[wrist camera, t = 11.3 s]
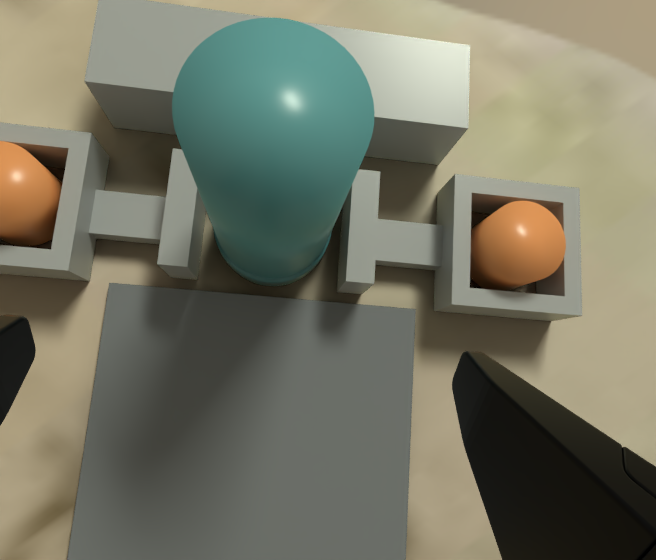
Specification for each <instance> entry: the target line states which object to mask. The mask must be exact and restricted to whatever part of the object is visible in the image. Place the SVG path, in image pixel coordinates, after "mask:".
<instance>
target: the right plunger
mask: <svg viewBox="0 0 656 560" xmlns="http://www.w3.org/2000/svg"><path fill="white" fill-rule="evenodd" d="M565 250H566V240H565V235H564V231H563V229H562V226H561V224H560V223H559V221H558V220H557V218H556V217H555V216H554V215H553V214H552V213H551V212H550V211H549V210H548V209H546V208H545V207H543V206H541V205H539V204H537V203H534V202H530V201H514V202H511V203H508V204H506V205H504V206H503V207H501V208H500V209H498V210H497V211H495V212H494V213H493V214H491V215H490V216H488V217H487V218H486V219H484V220H483V221H481V222H480V223H479V224H477V225H476V226H474V227H473V228H472V229H471V252H470V278H471V279H472V280H473V281H474V282H475V283H476V284H478V285H479V286H481V287H482V288H484V289H489V290H500V291H509V290H512V289H515V288H518V287H521V286H524V285H526V284H529V283H532V282H535V281H538V280H541V279H544V278H546V277H548V276H550V275H551V274H552V273H554V272H555V271H556V270H557V269H558V267H559V266H560V264H561V263H562V261H563V258H564V255H565Z"/></svg>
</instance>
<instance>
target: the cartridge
mask: <svg viewBox="0 0 656 560" xmlns="http://www.w3.org/2000/svg"><path fill="white" fill-rule="evenodd" d="M374 113H375V112H374V102H373V97H372V93H371V89H370V86H369V83H368V81H367V78H366V76H365V74H364V73H363V71H362V69H361V67H360V66H359V64H358V63H357V61H356V60H355V59H354V57H353V56H352V55H351V54H350V53H349V52H348V51H347V50H346V49H345V47H343V46H342V45H341V44H340V43H339V42H337V41H336V40H335V39H334V38H332V37H331V36H329V35H327V34H326V33H324V32H322V31H320V30H318V29H316V28H314V27H312V26H310V25H307V24H304V23H301V22H297V21H293V20H289V19H281V18H257V19H249V20H245V21H241V22H237V23H234V24H232V25H229V26H226V27H224V28H222V29H221V30H219V31H217V32H215V33H213V34H212V35H211V36H209V37H208V38H206V39H205V40H204V41H203V42H202V43H201V44H199V45H198V46H197V47H196V48H195V49H194V51H193V52H192V53H191V54H190V55H189V57H188V58H187V60H186V61H185V63H184V65H183V66H182V68H181V70H180V72H179V75H178V77H177V79H176V83H175V87H174V91H173V99H172V117H173V123H174V128H175V132H176V135H177V138H178V141H179V143H180V146H181V148H182V151H183V153H184V156H185V158H186V161H187V163H188V166H189V168H190V171H191V173H192V176H193V178H194V181H195V183H196V186H197V188H198V191H199V194H200V196H201V199H202V201H203V204H204V206H205V209H206V211H207V214H208V216H209V219H210V221H211V224H212V226H213V231H214V236H215V239H216V243H217V245H218V248H219V250H220V252H221V254H222V256H223V258H224V259H225V261H226V262H227V264H228V265H229V266H230V267H231V268H232V269H233V270H234V271H235V272H236V273H238V274H239V275H240V276H242V277H243V278H245V279H246V280H249V281H251V282H253V283H256V284H259V285H264V286H282V285H287V284H290V283H293V282H295V281H297V280H299V279H301V278H302V277H304V276H305V275H307V274H308V273H309V272H310V271H312V270H313V269H314V268H315V267H316V265H317V264H318V263H319V262H320V260H321V259H322V257H323V255H324V253H325V251H326V248H327V246H328V244H329V241H330V238H331V232H332V229H333V227H334V225H335V222H336V220H337V218H338V215H339V213H340V211H341V209H342V206H343V204H344V202H345V199H346V197H347V195H348V192H349V190H350V188H351V186H352V183H353V181H354V179H355V176H356V174H357V172H358V170H359V167H360V165H361V163H362V160H363V158H364V156H365V154H366V151H367V149H368V146H369V143H370V140H371V137H372V133H373V127H374Z"/></svg>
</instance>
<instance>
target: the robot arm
mask: <svg viewBox="0 0 656 560" xmlns="http://www.w3.org/2000/svg"><path fill="white" fill-rule="evenodd" d="M34 357H35V343H34V340H33V336H32V332H31V328H30V325H29V322H28V320H27V318H25V317H24V316H15V315H3V316H0V425H1V424H2V422H3V420H4V419H5V417H6V415H7V413H8V411H9V409H10V408H11V406H12V403H13V401H14V399H15V397H16V395H17V393H18V391H19V389H20V387H21V385H22V383H23V381H24V379H25V377H26V375H27V373H28V371H29V369H30V367H31V365H32V362H33V360H34ZM452 390H453V395H454V400H455V405H456V410H457V415H458V420H459V424H460V429H461V434H462V439H463V443H464V447H465V450H466V453H467V456H468V459H469V462H470V465H471V468H472V471H473V474H474V477H475V480H476V483H477V486H478V489H479V492H480V495H481V498H482V501H483V504H484V507H485V510H486V513H487V515H488V518H489V521H490V524H491V527H492V530H493V533H494V536H495V539H496V542H497V545H498V548H499V551H500V554H501V557H502V560H656V467H655V466H654V465H652V464H651V463H649V462H648V461H646V460H644V459H643V458H641V457H640V456H638V455H637V454H635V453H634V452H632V451H631V450H629V449H628V448H626V447H622V446H621V444H619V443H618V442H616V441H615V440H613V439H612V438H610V437H609V436H607V435H606V434H604V433H603V432H601V431H600V430H598V429H597V428H595V427H594V426H592V425H591V424H589V423H588V422H586V421H585V420H583V419H582V418H580V417H579V416H577V415H576V414H574V413H573V412H571V411H570V410H568V409H567V408H565V407H564V406H562V405H561V404H559V403H558V402H556V401H555V400H553V399H552V398H550V397H549V396H547V395H546V394H544V393H543V392H541V391H540V390H538V389H537V388H535V387H534V386H532V385H531V384H529V383H528V382H526V381H525V380H523V379H522V378H520V377H519V376H517V375H516V374H514V373H513V372H511V371H510V370H508V369H507V368H505V367H504V366H502V365H501V364H499V363H498V362H496V361H495V360H493V359H492V358H490V357H489V356H487V355H486V354H484V353H482V352H473V351H466V352H464V353H463V354H462V356H461V358H460V361H459V363H458V366H457V369H456V371H455V374H454V377H453V381H452Z"/></svg>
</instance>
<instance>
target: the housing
mask: <svg viewBox="0 0 656 560" xmlns="http://www.w3.org/2000/svg"><path fill="white" fill-rule="evenodd" d="M257 18H269V17H262V16H255V15H248V14H240V13H233V12H226V11H219V10H212V9H204V8H197V7H190V6H183V5H176V4H168V3H161V2H154V1H147V0H99V1H98V6H97V12H96V18H95V24H94V29H93V35H92V41H91V46H90V52H89V58H88V64H87V69H86V75H85V83H86V84H87V86H88V88H89V89H90V91H91V92H92V94H93V95H94V97H95V99H96V100H97V102H98V103H99V105H100V106H101V108H102V109H103V111H104V113H105V114H106V116H107V117H108V119H109V120H110V122H111V124H112V125H113V127H114V128H121V129H130V130H139V131H147V132H156V133H165V134H173V135H176V132H175V128H174V123H173V117H172V99H173V91H174V87H175V83H176V79H177V77H178V75H179V72H180V70H181V68H182V66H183V65H184V63H185V61H186V60H187V58H188V57H189V55H190V54H191V53H192V52H193V51H194V49H195V48H196V47H197V46H198V45H199V44H201V43H202V42H203V41H204V40H205V39H206V38H208V37H209V36H211V35H212V34H213V33H215V32H217V31H219V30H221V29H222V28H224V27H226V26H229V25H232V24H234V23H237V22H241V21H245V20H249V19H257ZM297 22H298V21H297ZM301 23H304V24H307V25H310V26H312V27H314V28H316V29H318V30H320V31H322V32H324V33H326V34H327V35H329V36H331V37H332V38H334V39H335V40H336V41H337V42H339V43H340V44H341V45H342V46H343V47H345V49H346V50H347V51H348V52H349V53H350V54H351V55H352V56H353V57H354V59H355V60H356V61H357V63H358V64H359V66H360V67H361V69H362V71H363V73H364V74H365V76H366V78H367V81H368V83H369V86H370V89H371V93H372V97H373V102H374V112H375V113H374V127H373V133H372V137H371V140H370V143H369V146H368V149H367V151H366V154H365V157H374V158H383V159H391V160H400V161H409V162H418V163H426V164H435V165H439V164H440V162H441V161H442V160H443V159H444V157H445V156H446V155H447V154H448V152H449V151H450V150H451V149H452V148H453V146H454V145H455V144H456V143H457V141H458V140H459V139H460V138H461V136H462V135H463V134H464V133H465V132H466V130H467V129H468V116H469V70H470V45H464V44H457V43H449V42H442V41H435V40H428V39H421V38H413V37H406V36H399V35H392V34H385V33H377V32H370V31H363V30H356V29H349V28H341V27H334V26H327V25H320V24H313V23H305V22H301ZM0 141H5V142H10V143H13V144H16V145H18V146H20V147H22V148H24V149H25V150H27V151H28V152H29V153H30V154H31V155H32V156H33V157H34V158H36V159H37V160H38V161H39V162H40V163H41V164H42V165H43V166H46V167H56V168H65V172H64V178H63V184H62V189H61V195H60V201H59V206H58V212H57V218H56V223H55V229H54V235H53V240H52V246H51V249H40V248H29V247H18V246H7V245H0V274H11V275H22V276H34V277H45V278H57V279H69V280H80V281H90V276H91V269H92V263H93V257H94V251H95V244H96V239H106V240H117V241H128V242H138V243H149V244H159V245H160V246H159V254H158V261H157V264H158V265H159V266H160V267H161V268H162V269H163V270H164V271H165V272H166V273H167V274H168V275H169V276H170V277H171V278H182V279H193V280H198V273H199V265H200V257H201V248H202V240H203V232H204V223H205V215H206V209H205V206H204V204H203V201H202V199H201V196H200V194H199V191H198V188H197V186H196V183H195V181H194V178H193V176H192V173H191V171H190V168H189V166H188V163H187V161H186V158H185V156H184V153H183V151H182V149H175V148H173V151H172V158H171V166H170V173H169V180H168V188H167V195H166V197H162V196H152V195H143V194H133V193H123V192H114V191H104V188H105V182H106V176H107V169H108V163H109V156H108V154H107V153H106V152H105V150H104V149H103V148H102V146H101V145H100V144H99V142H98V141H97V140H96V138H95V137H94V136H93V134H92V133H88V132H80V131H71V130H62V129H53V128H44V127H35V126H27V125H18V124H9V123H0ZM379 188H380V171H371V170H362V169H359V170H358V172H357V174H356V176H355V179H354V181H353V183H352V186H351V188H350V190H349V192H348V195H347V197H346V199H345V202H344V204H343V209H342V223H341V238H340V252H339V267H338V282H337V292H341V293H352V294H363V293H364V292H365V291H366V290H367V289H369V288H370V287H371V286H372V285H373V284H374V278H375V265H383V266H393V267H404V268H414V269H425V270H435V284H434V311H440V312H451V313H463V314H475V315H486V316H498V317H509V318H521V319H533V320H544V321H555V320H561V319H567V318H572V317H578V316H582V289H581V242H580V195H579V188H574V187H565V186H556V185H548V184H539V183H530V182H521V181H512V180H503V179H495V178H486V177H477V176H468V175H459V174H455V175H454V176H453V177H452V178H451V179H450V180H449V181H448V182H447V183H446V184H445V185H444V186H443V187H442V189H441V190H440V191H439V192H438V193H437V223H436V225H434V224H424V223H415V222H405V221H395V220H385V219H378V206H379ZM514 201H530V202H534V203H537V204H539V205H541V206H543V207H545V208H546V209H548V210H549V211H550V212H551V213H552V214H553V215H554V216H555V217H556V218H557V220H558V221H559V223H560V224H561V226H562V229H563V231H564V235H565V240H566V250H565V255H564V258H563V261H562V263H561V264H560V266H559V267H558V269H557V270H556V271H555V272H554V273H552V274H551V275H550V276H548V277H546V278H544V279H541V280H538V281H536V294H533V293H522V292H511V291H500V290H489V289H478V288H470V252H471V212H479V213H489V214H493V213H494V212H495V211H497V210H498V209H500V208H501V207H503V206H504V205H506V204H508V203H511V202H514Z"/></svg>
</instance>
